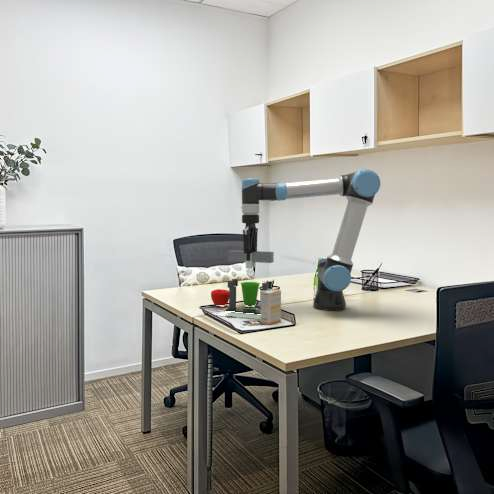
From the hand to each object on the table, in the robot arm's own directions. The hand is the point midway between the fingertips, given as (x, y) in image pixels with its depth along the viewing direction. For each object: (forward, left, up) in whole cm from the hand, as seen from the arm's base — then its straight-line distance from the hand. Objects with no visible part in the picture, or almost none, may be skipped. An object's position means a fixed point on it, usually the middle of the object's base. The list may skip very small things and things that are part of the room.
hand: (250, 267), depth 221 cm
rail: (0, 0, +3) cm, 3 cm away
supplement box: (-14, +14, -20) cm, 28 cm away
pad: (0, +9, -20) cm, 22 cm away
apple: (+17, -7, -20) cm, 28 cm away
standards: (0, 0, -20) cm, 20 cm away
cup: (+4, -12, -20) cm, 24 cm away
